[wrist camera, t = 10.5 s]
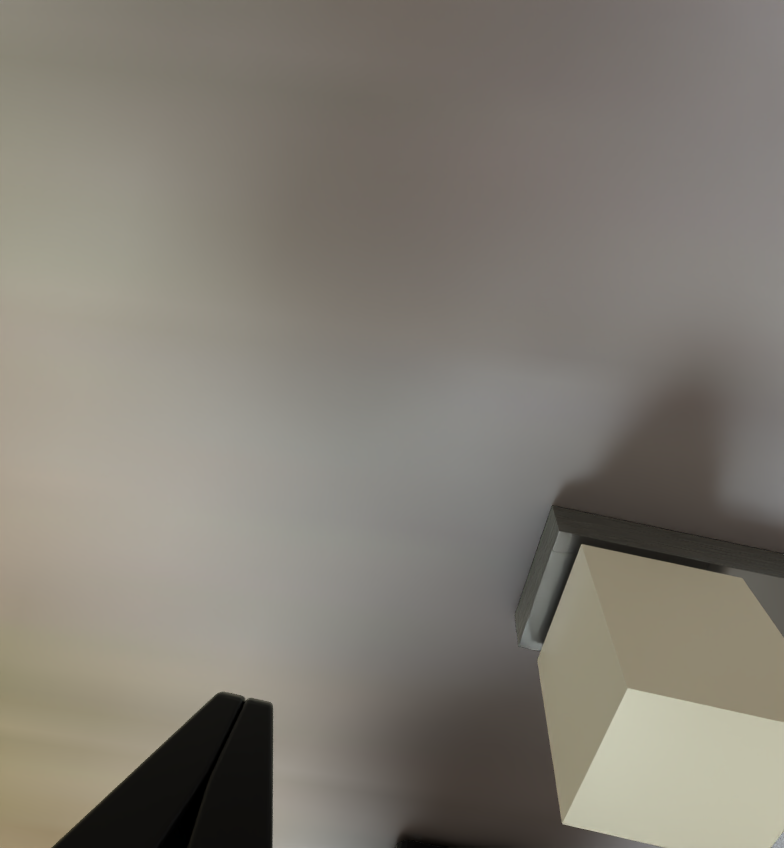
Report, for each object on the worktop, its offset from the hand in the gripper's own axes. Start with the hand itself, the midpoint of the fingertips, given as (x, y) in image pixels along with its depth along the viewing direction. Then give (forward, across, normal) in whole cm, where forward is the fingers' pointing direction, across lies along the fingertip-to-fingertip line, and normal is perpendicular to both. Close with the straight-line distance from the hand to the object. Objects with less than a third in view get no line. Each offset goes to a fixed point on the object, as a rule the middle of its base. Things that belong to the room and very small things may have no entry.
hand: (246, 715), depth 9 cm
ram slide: (+4, -7, 0) cm, 8 cm away
